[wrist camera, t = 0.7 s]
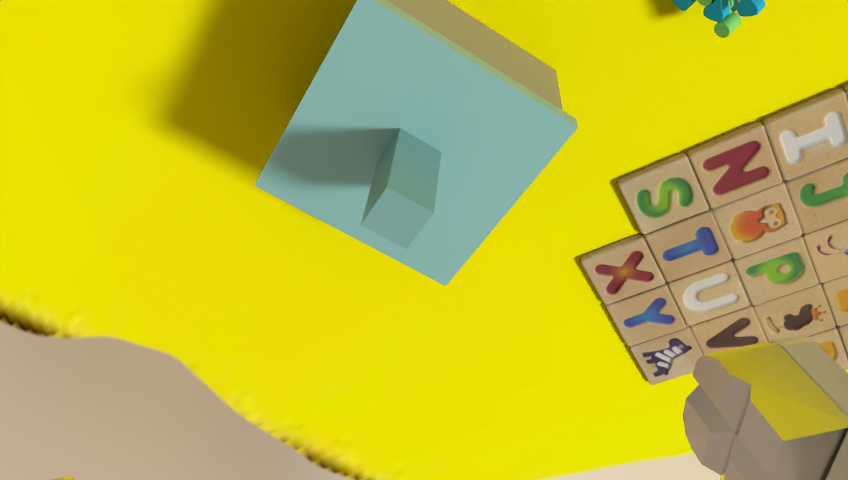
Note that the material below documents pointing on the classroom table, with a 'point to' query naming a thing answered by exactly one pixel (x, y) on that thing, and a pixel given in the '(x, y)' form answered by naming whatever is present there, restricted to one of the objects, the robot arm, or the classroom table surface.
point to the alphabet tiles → (735, 243)
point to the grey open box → (485, 45)
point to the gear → (725, 12)
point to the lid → (412, 142)
